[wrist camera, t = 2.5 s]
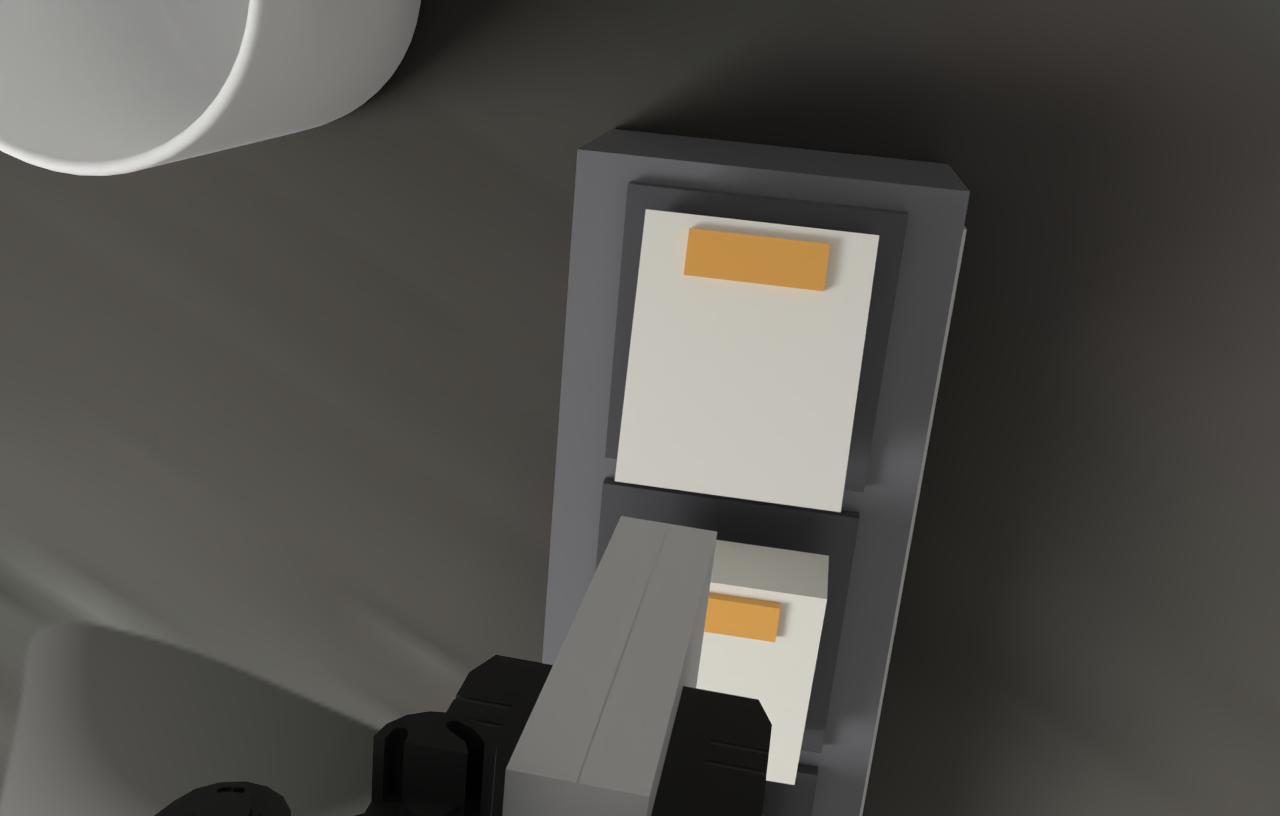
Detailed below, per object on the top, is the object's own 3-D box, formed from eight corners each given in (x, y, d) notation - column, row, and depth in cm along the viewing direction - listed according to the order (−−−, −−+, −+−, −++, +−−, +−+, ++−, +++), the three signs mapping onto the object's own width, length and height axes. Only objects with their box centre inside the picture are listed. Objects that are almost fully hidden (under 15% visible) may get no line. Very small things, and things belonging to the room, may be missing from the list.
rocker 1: (624, 469, 28) (613, 482, 26) (653, 212, 27) (644, 208, 26) (837, 498, 28) (841, 514, 26) (874, 237, 27) (880, 235, 25)
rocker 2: (608, 707, 32) (595, 758, 30) (619, 525, 29) (605, 572, 27) (797, 737, 31) (793, 790, 30) (829, 555, 28) (827, 604, 27)
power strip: (547, 967, 42) (509, 1099, 37) (612, 128, 33) (574, 151, 28) (809, 1015, 41) (807, 1157, 36) (955, 164, 32) (981, 195, 27)
